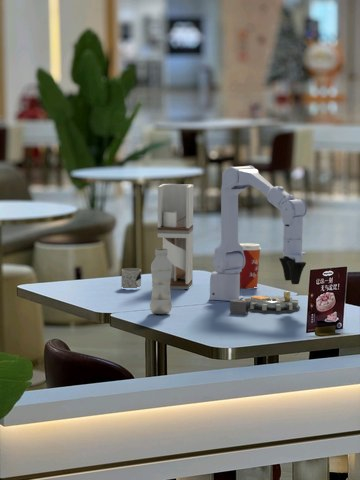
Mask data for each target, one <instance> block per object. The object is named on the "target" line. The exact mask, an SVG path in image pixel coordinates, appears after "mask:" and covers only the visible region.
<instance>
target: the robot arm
mask: <svg viewBox="0 0 360 480" xmlns="http://www.w3.org/2000/svg"><path fill="white" fill-rule="evenodd" d="M259 172H260V171H259V169H257V168H255V167H254V166H253V165H244V166H228V167H227V168H225V170H224V171H223V172H222V173H221V174H222V177H221V179H222V181H221V187H220V189H221V190H220V191H221V192H220V199H221V201H220V202H221V203H220V204H221V206H220V208H221V209H220V210H221V211H220V212H221V213H220V214H221V215H220V217H221V219H220V225H221V226H220V227H221V228H220V229H221V230H220V234H221V236H220V239H221V241H220V243H219V244H218V245H217V246H216V247H215V248H214V255H213V258H212V266H213V268H214V270H215V271H212V272H211V274H210V277H209V278H210V280H209V298H208V299H209V300H212V301H226V302H227V301H228V302H230V301H231V300H242V299H243V298H244V295H240V292H241V291H240V290H241V288H240V272H242V268H243V267H244V266H245V256H244V252H243V247H242V246H241V245H240V244H241V243H239V194H241V192H243V190H244V189H246V188H250V187H253V188H255V189H256V190H258V191H259V192H261V193H262V194H264V195H265V196H266V199H267V201H268V202H269V203H270V204H271V205H272V206H274V207H275V208H276V209H277V210H278V211H279V212H280V215H281V217H282V223H283V249H282V256H283V257H279V258H278V259H279V262H280V264H281V266H282V270H283V277H284V280H285V281H286V282H287V281H291V282H290V283H291V285H300V280H301V278H302V273H303V271H304V268H305V266H306V264H307V262H306V261H303V256H306V251H303V229H304V228H303V227H304V225H303V223H304V217H305V216H306V214H307V212H308V207H307V203H306V202H305V201H304V199H303V198H295V196H294V195H293V194H290V193H289V192H287V191H286V190H285V188H284V187H283V186H281V185H280V186H279V185H276V186H274V185H272V184H271V183H270V182H269V181H268V180H267V179H266V178H265V177H263V176H262V175H261V174H260V173H259Z"/></svg>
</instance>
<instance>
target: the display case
mask: <svg viewBox="0 0 360 480" xmlns="http://www.w3.org/2000/svg"><path fill="white" fill-rule="evenodd" d="M194 187H195V186H194V184H191V183H189V184H188V183H187V184H186V183H185V184H181V183H162V184H160V185H158V186H157V238H162V248H164V249H167V250H168V255H167V258H168V259H169V260H170V262H171V263H172V273H171V280H170V290H172V289H189V290H190V288H191V287H192V286H193V278H194V277H193V274H194V272H193V269H194V268H193V267H194V265H193V264H194V263H193V262H194V260H193V259H194V257H193V256H194V252H193V251H194ZM191 285H192V286H191ZM190 286H191V287H190ZM189 287H190V288H189Z"/></svg>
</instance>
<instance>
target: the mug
mask: <svg viewBox="0 0 360 480" xmlns="http://www.w3.org/2000/svg"><path fill="white" fill-rule="evenodd" d="M140 286H141V287H142V269H141V268H135V267H131V268H130V267H127V268H121V287H123V288H137V287H140Z"/></svg>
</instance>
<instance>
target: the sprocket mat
mask: <svg viewBox="0 0 360 480" xmlns="http://www.w3.org/2000/svg"><path fill="white" fill-rule="evenodd" d="M299 309H300V310H301V306H300V305H298V308H292V310H287V309H282V310H281V311H276V310H267V311H266V310H262V309H251V308H250V307H249V308H248V312H251V311H252V312H251V313H257V312H261V313H260V314H270V313H276V315H277V314H278V315H279V314H289V313H295V311H296V312H298V311H297V310H299ZM300 310H299V311H300Z"/></svg>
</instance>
